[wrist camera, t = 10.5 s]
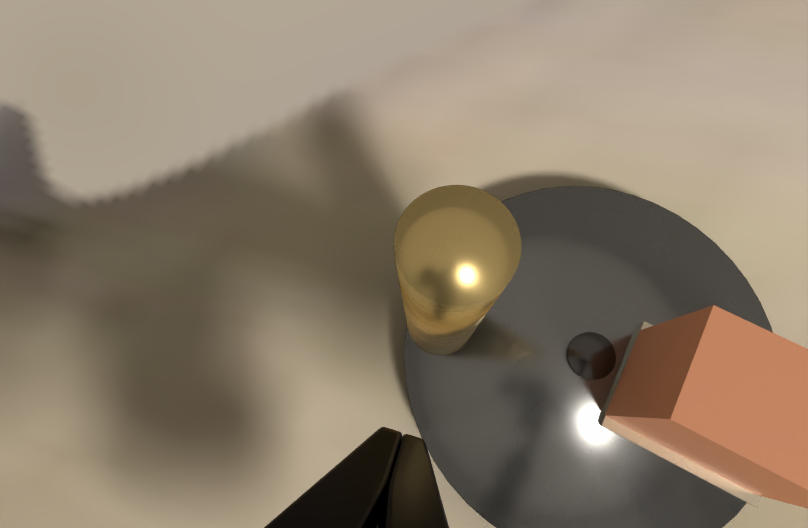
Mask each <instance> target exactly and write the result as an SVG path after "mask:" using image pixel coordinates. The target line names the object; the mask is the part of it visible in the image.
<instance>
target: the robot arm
mask: <svg viewBox="0 0 808 528" xmlns="http://www.w3.org/2000/svg"><path fill="white" fill-rule="evenodd" d="M401 439H402V440H401ZM264 528H449V526H448V522H447V519H446V515H445V511H444V508H443V504H442V500H441V497H440V493H439V489H438V486H437V482H436V478H435V475H434V471H433V468H432V464H431V460H430V457H429V453H428V449H427V446H426V443H425V441H424V440H423V439H421V438H418V437H415V436H412V435H408V434H405V435H403V437H402V434H401V432H399V431H395V430H392V429H389V428H386V427H381V428H380V429H378V430H377V431H376V432H375V433H374V434H373V435H371V436H370V437H369V438H368V439H367V440H366V441H364V442H363V443H362V444H361V445H360V446H359V447H357V448H356V449H355V450H354V451H353V452H352V453H350V454H349V455H348V456H347V457H346V458H345V459H343V460H342V461H341V462H340V463H339V464H338V465H336V466H335V467H334V468H333V469H332V470H331V471H329V472H328V473H327V474H326V475H325V476H324V477H322V478H321V479H320V480H319V481H318V482H317V483H315V484H314V485H313V486H312V487H311V488H310V489H309V490H307V491H306V492H305V493H304V494H303V495H302V496H300V497H299V498H298V499H297V500H296V501H295V502H293V503H292V504H291V505H290V506H289V507H288V508H286V509H285V510H284V511H283V512H282V513H281V514H279V515H278V516H277V517H276V518H275V519H274V520H272V521H271V522H270V523H269V524H268V525H267V526H265V527H264Z"/></svg>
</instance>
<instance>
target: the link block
mask: <svg viewBox="0 0 808 528" xmlns="http://www.w3.org/2000/svg"><path fill="white" fill-rule="evenodd" d="M605 416H607V417H609V418H611V419H612V420H614V421H616V422H618V423H620V424H622V425H624V426H626V427H628V428H630V429H631V430H633V431H635V432H637V433H639V434H641V435H643V436H645V437H647V438H649V439H650V440H652V441H654V442H656V443H658V444H660V445H662V446H664V447H666V448H668V449H670V450H671V451H673V452H675V453H677V454H679V455H681V456H683V457H685V458H687V459H689V460H690V461H692V462H694V463H696V464H698V465H700V466H702V467H704V468H706V469H708V470H709V471H711V472H713V473H715V474H717V475H719V476H721V477H723V478H725V479H727V480H729V481H730V482H732V483H734V484H736V485H738V486H740V487H742V488H744V489H746V490H748V491H749V492H751V493H753V494H756V495H760V496H763V497H767V498H771V499H775V500H778V501H782V502H786V503H790V504H793V505H797V506H801V507H805V508H808V349H806V348H804V347H802V346H800V345H798V344H796V343H793V342H791V341H789V340H787V339H785V338H783V337H781V336H779V335H776V334H774V333H772V332H770V331H768V330H766V329H764V328H761V327H759V326H757V325H755V324H753V323H751V322H749V321H747V320H744V319H742V318H740V317H738V316H736V315H734V314H732V313H730V312H727V311H725V310H723V309H721V308H719V307H717V306H715V305H712V306H709V307H706V308H703V309H701V310H698V311H695V312H692V313H689V314H686V315H683V316H680V317H677V318H674V319H671V320H668V321H666V322H663V323H660V324H657V325H654V326H651V327H648V328H645V329H642V330H640V332H639V334H638V336H637V339H636V341H635V344H634V346H633V349H632V351H631V353H630V356H629V358H628V361H627V363H626V365H625V368H624V370H623V373H622V375H621V378H620V380H619V382H618V385H617V387H616V390H615V392H614V395H613V397H612V399H611V402H610V404H609V407H608V409H607V411H606V414H605Z"/></svg>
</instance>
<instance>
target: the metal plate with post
mask: <svg viewBox="0 0 808 528" xmlns="http://www.w3.org/2000/svg"><path fill="white" fill-rule="evenodd" d="M394 254H395V260H396V265H397V271H398V276H399V282H400V288H401V293H402V299H403V304H404V310H405V316H406V321H407V331H406V337H405V361H404V363H405V374H406V384H407V390H408V395H409V399H410V404H411V408H412V412H413V415H414V418H415V421H416V423H417V426H418V429H419V432H420V434H421V437H422V439H423V440H424V441H425V443H426V446H427V449H428V451H429V452H430V454H431V456H432V458H433V460H434V462H435V463H436V465H437V466H438V468H439V469H440V471H441V472H442V473H443V475H444V476H445V478H446V479H447V481H448V482H449V484H450V485H451V486H452V487H453V488H454V489H455V490H456V491H457V493H458V494H459V495H460V496H461V497H462V498H463V499H464V500H465V502H466V503H467V504H468V505H469V506H471V507H472V508H473V509H474V510H475V511H476V512H477V513H479V514H480V515H481V516H482V517H483V518H484V519H485V520H487V521H488V522H489V523H490V524H492V525H493V526H495V527H496V528H722V527H723V526H725V525H726V524H727V523H728V522H729V521H730V520H731V519H732V518H734V517H735V516H736V515H737V514H738V513H739V511H740V510H741V509H742V508H743V506H744V505H745V504H746V503H748V504H750V505H752V506H754V507H757V508H758V505H759V502H760V499H761V496H760V495H756V494H753V493H751V492H749V491H748V490H746V489H744V488H742V487H740V486H738V485H736V484H734V483H732V482H730V481H729V480H727V479H725V478H723V477H721V476H719V475H717V474H715V473H713V472H711V471H709V470H708V469H706V468H704V467H702V466H700V465H698V464H696V463H694V462H692V461H690V460H689V459H687V458H685V457H683V456H681V455H679V454H677V453H675V452H673V451H671V450H670V449H668V448H666V447H664V446H662V445H660V444H658V443H656V442H654V441H652V440H650V439H649V438H647V437H645V436H643V435H641V434H639V433H637V432H635V431H633V430H631V429H630V428H628V427H626V426H624V425H622V424H620V423H618V422H616V421H614V420H612V419H611V418H609V417H607V416H605V414H606V411H607V409H608V407H609V404H610V402H611V399H612V397H613V395H614V392H615V390H616V387H617V385H618V382H619V380H620V378H621V375H622V373H623V370H624V368H625V365H626V363H627V361H628V358H629V356H630V353H631V351H632V349H633V346H634V344H635V341H636V339H637V336H638V334H639V332H640V330H642V329H645V328H648V327H651V326H654V325H657V324H660V323H663V322H666V321H668V320H671V319H674V318H677V317H680V316H683V315H686V314H689V313H692V312H695V311H698V310H701V309H703V308H706V307H709V306H712V305H715V306H717V307H719V308H721V309H723V310H725V311H727V312H730V313H732V314H734V315H736V316H738V317H740V318H742V319H744V320H747V321H749V322H751V323H753V324H755V325H757V326H759V327H761V328H764V329H766V330H768V331H770V332H772V328H771V325H770V323H769V321H768V318H767V316H766V314H765V312H764V309H763V307H762V305H761V303H760V301H759V299H758V298H757V296H756V294H755V293H754V291H753V289H752V288H751V286H750V284H749V283H748V281H747V279H746V278H745V277H744V276H743V274H742V273H741V272H740V270H739V269H738V268H737V266H736V265H735V264H734V263H733V261H732V260H731V259H730V258H729V257H728V256H727V255H726V254H725V253H724V252H723V251H722V250H721V249H720V248H719V247H718V246H717V244H716V243H714V242H713V241H712V240H711V239H710V238H708V237H707V236H706V235H705V234H704V233H702V232H701V231H700V230H699V229H698V228H696V227H695V226H693V225H692V224H690V223H689V222H687V221H686V220H684V219H683V218H681V217H680V216H678V215H677V214H675V213H673V212H671V211H669V210H667V209H665V208H663V207H661V206H659V205H657V204H655V203H653V202H650V201H647V200H645V199H642V198H639V197H637V196H634V195H630V194H626V193H622V192H618V191H614V190H610V189H602V188H595V187H575V186H565V187H556V188H546V189H541V190H537V191H532V192H528V193H524V194H521V195H518V196H515V197H513V198H510V199H507V200H505V201H502V202H500V201H499V200H498V199H497V198H495V197H494V196H493V195H491V194H489V193H487V192H485V191H483V190H480V189H478V188H474V187H471V186H464V185H449V186H443V187H438V188H435V189H432V190H430V191H428V192H426V193H424V194H422V195H421V196H419V197H418V198H416V199H415V200H414V201H413V202H412V203H411V204H410V205H409V206H408V207H407V208H406V209H405V211H404V213H403V214H402V216H401V217H400V220H399V222H398V224H397V227H396V230H395V235H394ZM772 333H773V332H772Z"/></svg>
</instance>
